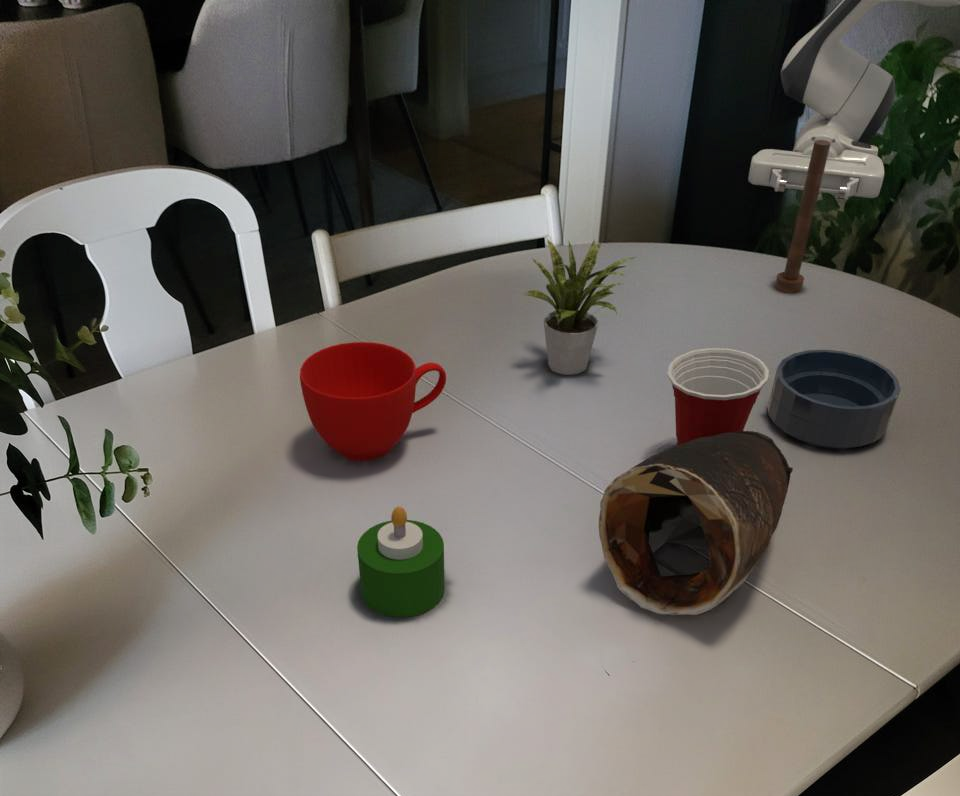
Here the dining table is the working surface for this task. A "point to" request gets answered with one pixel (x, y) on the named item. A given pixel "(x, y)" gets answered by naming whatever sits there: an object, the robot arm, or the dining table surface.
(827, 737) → the dining table surface
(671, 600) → the brown hollow cylinder
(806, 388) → the bowl
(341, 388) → the ceramic cup
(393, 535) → the candle
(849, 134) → the robot arm
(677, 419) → the plastic cup
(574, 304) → the house plant
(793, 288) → the stirring stick
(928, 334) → the dining table surface
